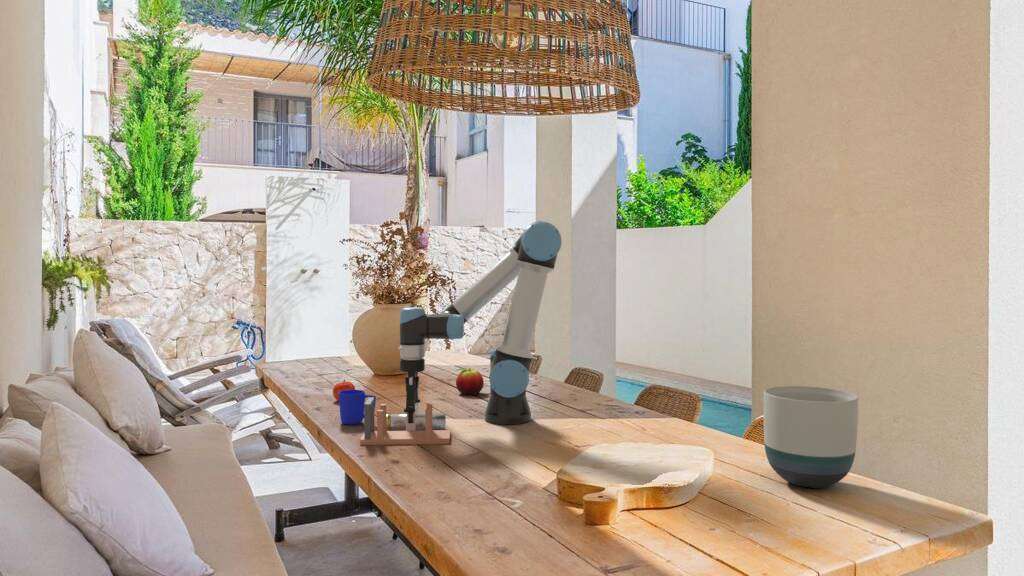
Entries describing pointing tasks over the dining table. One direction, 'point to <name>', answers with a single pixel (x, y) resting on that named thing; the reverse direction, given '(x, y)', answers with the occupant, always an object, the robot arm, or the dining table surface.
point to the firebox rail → (398, 436)
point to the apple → (342, 388)
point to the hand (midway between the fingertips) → (412, 428)
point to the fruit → (469, 382)
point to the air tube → (399, 422)
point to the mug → (352, 406)
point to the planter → (810, 433)
